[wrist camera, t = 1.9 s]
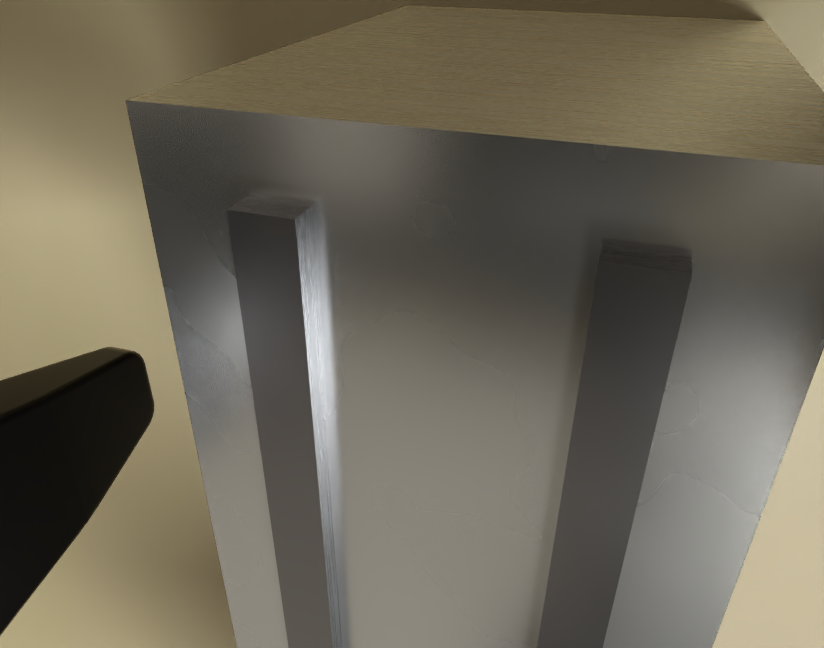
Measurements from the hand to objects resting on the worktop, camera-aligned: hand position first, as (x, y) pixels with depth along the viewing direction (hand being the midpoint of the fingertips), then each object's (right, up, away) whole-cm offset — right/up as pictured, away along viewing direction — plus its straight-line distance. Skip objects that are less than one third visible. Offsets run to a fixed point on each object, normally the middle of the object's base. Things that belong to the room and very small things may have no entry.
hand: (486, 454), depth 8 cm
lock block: (+1, +2, +3) cm, 4 cm away
